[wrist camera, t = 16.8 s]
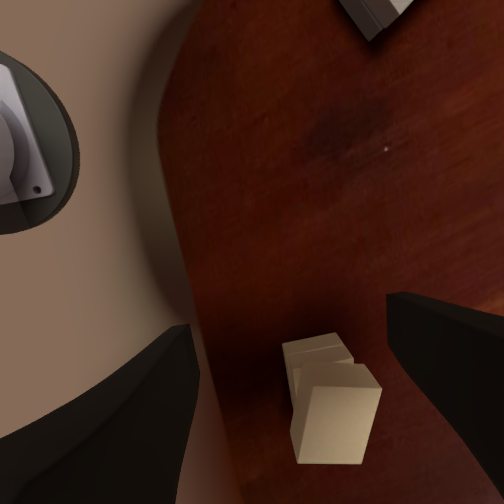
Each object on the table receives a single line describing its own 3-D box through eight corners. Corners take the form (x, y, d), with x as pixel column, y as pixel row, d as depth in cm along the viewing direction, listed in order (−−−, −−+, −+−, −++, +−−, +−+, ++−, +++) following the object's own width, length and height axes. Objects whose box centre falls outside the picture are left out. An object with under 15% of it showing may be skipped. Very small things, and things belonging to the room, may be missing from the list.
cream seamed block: (342, 393, 24) (360, 425, 21) (291, 404, 24) (300, 437, 21) (336, 331, 22) (353, 356, 19) (280, 342, 22) (289, 369, 19)
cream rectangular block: (346, 433, 21) (361, 464, 19) (289, 431, 21) (297, 463, 18) (364, 363, 20) (382, 389, 17) (302, 360, 19) (313, 386, 17)
